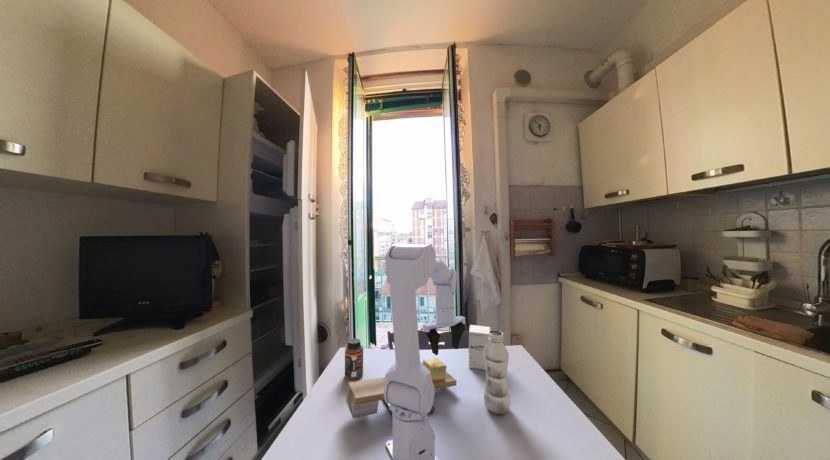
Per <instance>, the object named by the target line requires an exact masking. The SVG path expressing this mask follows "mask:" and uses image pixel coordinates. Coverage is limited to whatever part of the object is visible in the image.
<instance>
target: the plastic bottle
mask: <svg viewBox="0 0 830 460" xmlns="http://www.w3.org/2000/svg"><path fill="white" fill-rule="evenodd" d="M488 339H489V342H488V343H487V344H486V346H485V348H484V359H485V366H486V370H485V387H484V392H483V400H484V405H485V406H486V408H487V409H488V411H490V413H493V414H496V415H504V414H506V413H507V412H508V411H509V409H510V405H511V400H510V394H509V388H508V387H509V386H508V366H509V358H510V357H509V356H510V354H509V351H508V349H507V347H506V346H505V344H504V343H503V342H504V333H503V332H502V331H499V330H496V329H495V330H494V329H490V331H489V337H488Z"/></svg>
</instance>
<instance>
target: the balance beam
mask: <svg viewBox="0 0 830 460" xmlns="http://www.w3.org/2000/svg"><path fill="white" fill-rule="evenodd" d="M433 384H434V389H435V390H441V389H444V388H450V387H456V386H457V379H456V378H454V377H453V376H452V375H451V374H450V373H449V372H447V371H446V376H445V380H443V381H437V382H433ZM384 386H385V376H384V377H379V378H378V377H377V378H371V379H365V380H363V379H362V380H357V381H349V382H348V384H347V389H346V390H347V391H346V398H345V402H346V405H347V408H348V409H349V412H350V414H351V417H352V419H358V418H362V417H366V416H370V415H375V414H378V409H379V402H380V401H383V400H384Z"/></svg>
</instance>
